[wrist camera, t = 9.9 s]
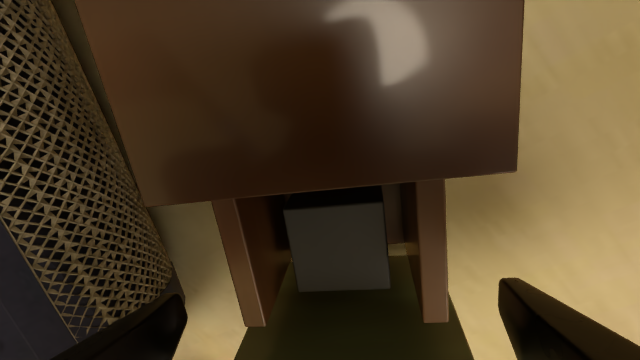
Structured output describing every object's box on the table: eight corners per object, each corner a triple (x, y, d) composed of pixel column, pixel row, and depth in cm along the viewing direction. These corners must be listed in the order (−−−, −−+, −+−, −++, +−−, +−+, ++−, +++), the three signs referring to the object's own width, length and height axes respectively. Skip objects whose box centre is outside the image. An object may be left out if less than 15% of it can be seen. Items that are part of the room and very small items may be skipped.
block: (378, 169, 14) (384, 201, 11) (385, 241, 15) (391, 289, 12) (300, 177, 14) (281, 209, 11) (311, 245, 16) (297, 293, 12)
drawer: (435, 293, 17) (475, 415, 11) (284, 298, 18) (246, 410, 12) (425, 55, 13) (476, 45, 7) (238, 85, 15) (152, 97, 9)
